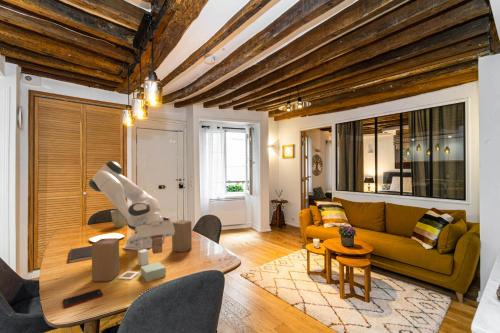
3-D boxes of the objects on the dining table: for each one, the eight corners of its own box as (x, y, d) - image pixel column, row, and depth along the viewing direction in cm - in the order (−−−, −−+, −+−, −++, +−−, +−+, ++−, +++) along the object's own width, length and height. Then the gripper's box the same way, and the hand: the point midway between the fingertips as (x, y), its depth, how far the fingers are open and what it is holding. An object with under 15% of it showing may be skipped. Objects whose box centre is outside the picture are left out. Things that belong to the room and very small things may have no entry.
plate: (99, 246, 181) (99, 243, 181) (84, 241, 193) (84, 238, 193) (129, 238, 200) (129, 235, 200) (113, 234, 213) (113, 231, 213)
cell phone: (62, 301, 109) (62, 299, 109) (100, 290, 118) (100, 288, 118) (63, 309, 103) (63, 307, 103) (103, 297, 112) (103, 294, 112)
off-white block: (137, 264, 148) (137, 251, 148) (145, 261, 152) (145, 249, 151) (141, 266, 145) (141, 252, 145) (148, 263, 149) (148, 250, 149)
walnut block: (152, 251, 135) (152, 236, 134) (160, 249, 137) (160, 235, 137) (153, 253, 131) (153, 239, 131) (162, 252, 133) (162, 237, 133)
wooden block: (101, 273, 135) (101, 238, 135) (120, 272, 136) (119, 237, 136) (91, 282, 125) (90, 244, 125) (111, 281, 126) (111, 243, 126)
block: (192, 248, 175) (191, 220, 175) (182, 253, 166) (182, 223, 166) (181, 246, 179) (181, 219, 179) (171, 250, 170) (171, 222, 170)
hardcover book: (97, 248, 178) (97, 244, 178) (98, 258, 159) (98, 254, 159) (70, 252, 169) (70, 249, 169) (68, 263, 150) (68, 260, 150)
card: (117, 279, 129) (117, 277, 129) (126, 272, 137) (126, 270, 137) (131, 279, 128) (131, 278, 128) (139, 273, 136) (139, 271, 136)
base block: (140, 275, 133) (140, 266, 133) (158, 270, 140) (158, 261, 140) (146, 282, 126) (146, 272, 126) (165, 276, 132) (165, 267, 132)
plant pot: (107, 228, 229) (107, 211, 229) (118, 224, 244) (118, 208, 244) (121, 229, 227) (121, 212, 226) (131, 225, 241) (131, 209, 241)
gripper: (135, 221, 134) (137, 244, 126) (173, 217, 145) (177, 238, 136) (134, 227, 138) (136, 250, 130) (171, 223, 149) (175, 244, 140)
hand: (157, 244), depth 133 cm, fingers closed on walnut block, 4 cm apart
